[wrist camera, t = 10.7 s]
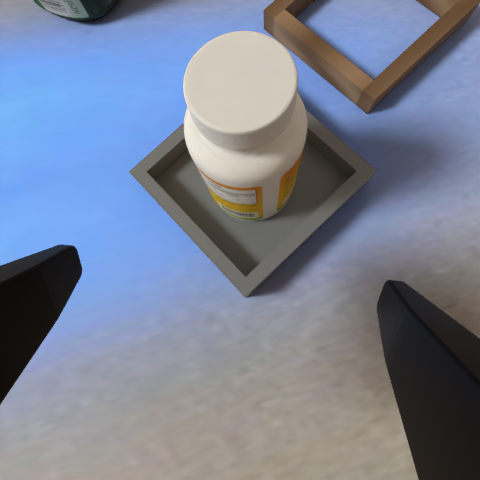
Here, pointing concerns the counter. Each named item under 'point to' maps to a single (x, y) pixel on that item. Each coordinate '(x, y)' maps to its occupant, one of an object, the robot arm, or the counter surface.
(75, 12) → the coffee jar
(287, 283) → the counter surface
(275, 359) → the counter surface
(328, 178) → the tray
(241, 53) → the supplement bottle
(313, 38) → the socket frame
